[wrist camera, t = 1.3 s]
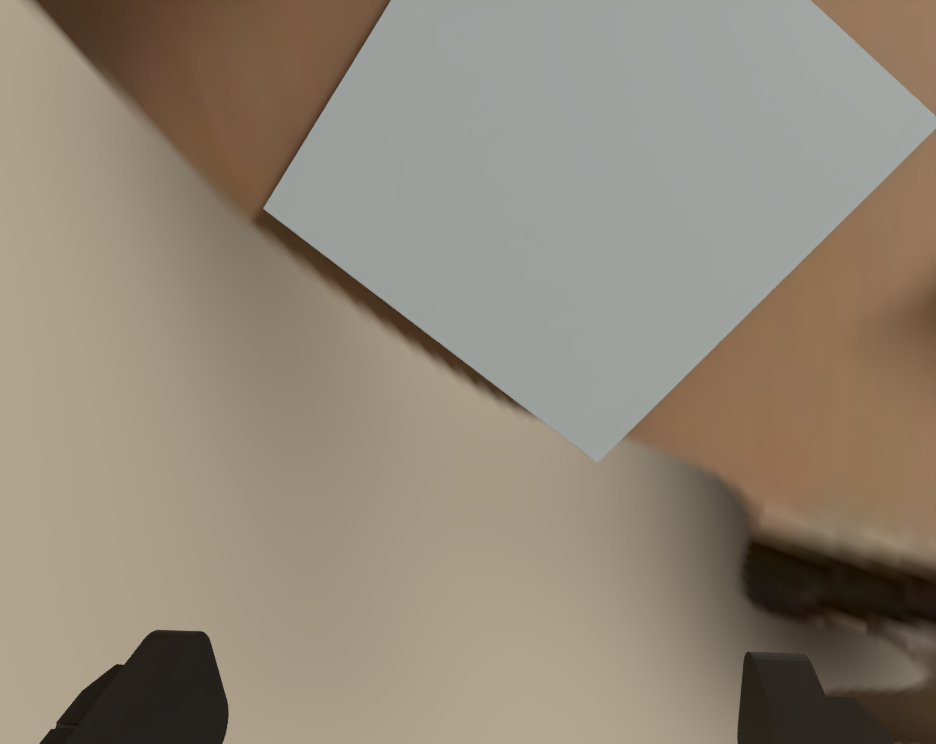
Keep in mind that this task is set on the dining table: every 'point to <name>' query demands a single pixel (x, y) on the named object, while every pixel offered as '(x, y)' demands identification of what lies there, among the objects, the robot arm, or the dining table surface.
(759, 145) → the slate board
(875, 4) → the dining table surface
